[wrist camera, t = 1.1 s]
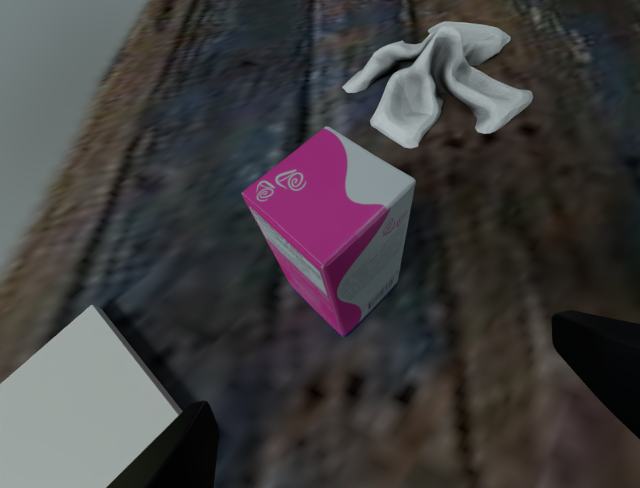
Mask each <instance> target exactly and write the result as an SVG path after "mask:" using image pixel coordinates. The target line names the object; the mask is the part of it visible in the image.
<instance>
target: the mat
mask: <svg viewBox="0 0 640 488" xmlns="http://www.w3.org/2000/svg"><path fill="white" fill-rule="evenodd" d="M182 412H183V411H182V410H181V409H180V407H179V406H178V405H177V404H176V402H175V401H174V400H173V399H172V397H171V396H170V395H169V394H168V392H167V391H166V390H165V388H164V387H163V386H162V385H161V383H160V382H159V381H158V380H157V378H156V377H155V376H154V375H153V373H152V372H151V371H150V370H149V368H148V367H147V366H146V365H145V363H144V362H143V361H142V359H141V358H140V357H139V356H138V354H137V353H136V352H135V351H134V349H133V348H132V347H131V346H130V344H129V343H128V342H127V341H126V339H125V338H124V337H123V336H122V334H121V333H120V332H119V331H118V329H117V328H116V327H115V325H114V324H113V323H112V322H111V320H110V319H109V318H108V317H107V315H106V314H105V313H104V312H103V310H102V309H101V308H98V307H96V306H94V305H91V306H90V307H89V308H88V309H86V310H85V311H84V312H83V313H82V314H81V315H79V316H78V317H77V318H76V319H75V320H74V321H73V322H71V323H70V324H69V325H68V326H67V327H66V328H64V329H63V330H62V331H61V332H60V333H59V334H58V335H56V336H55V337H54V338H53V339H52V340H51V341H49V342H48V343H47V344H46V345H45V346H44V347H43V348H41V349H40V350H39V351H38V352H37V353H36V354H34V355H33V356H32V357H31V358H30V359H29V360H28V361H26V362H25V363H24V364H23V365H22V366H21V367H20V368H18V369H17V370H16V371H15V372H14V373H13V374H11V375H10V376H9V377H8V378H7V379H6V380H5V381H3V382H2V383H1V384H0V488H106V487H107V486H108V485H109V484H110V483H111V482H112V481H113V480H114V479H115V478H116V477H117V476H118V475H119V474H120V473H121V472H122V471H123V470H124V469H125V468H126V467H127V466H128V465H129V464H130V463H131V462H132V461H133V460H134V459H135V458H136V457H137V456H138V455H139V454H140V453H141V452H142V451H143V450H144V449H145V448H146V447H147V446H148V445H149V444H150V443H151V442H152V441H153V440H154V439H155V438H156V437H157V436H158V435H159V434H160V433H161V432H163V431H164V430H165V429H166V428H167V427H168V426H169V425H170V424H171V423H172V422H173V421H174V420H175V419H176V418H177V417H178V416H179V415H180V414H181V413H182Z"/></svg>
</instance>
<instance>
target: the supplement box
mask: <svg viewBox="0 0 640 488" xmlns="http://www.w3.org/2000/svg"><path fill="white" fill-rule="evenodd" d="M415 184H416V181H415V179H414V178H412V177H411V176H409V175H407V174H405V173H404V172H402V171H400V170H398V169H397V168H395V167H393V166H392V165H390V164H388V163H386V162H385V161H383V160H381V159H380V158H378V157H376V156H375V155H373V154H371V153H370V152H368V151H366V150H365V149H363V148H362V147H360V146H358V145H357V144H355V143H354V142H352V141H350V140H349V139H347V138H346V137H344V136H342V135H341V134H339V133H338V132H336V131H334V130H333V129H331V128H330V127H328V126H326V127H325V128H323V129H322V130H321V131H320V132H318V133H317V134H316V135H315V136H313V137H312V138H311V139H309V140H308V141H307V142H306V143H304V144H303V145H302V146H300V147H299V148H298V149H297V150H295V151H294V152H293V153H292V154H290V155H289V156H288V157H287V158H285V159H284V160H283V161H281V162H280V163H279V164H278V165H276V166H275V167H274V168H273V169H271V170H270V171H269V172H267V173H266V174H265V175H264V176H262V177H261V178H260V179H258V180H257V181H256V182H255V183H253V184H252V185H251V186H249V187H248V188H247V189H246V190H244V191H243V192H242V195H243V198H244V200H245V202H246V203H247V205H248V207H249V209H250V211H251V213H252V215H253V217H254V218H255V220H256V222H257V224H258V226H259V227H260V229H261V231H262V233H263V235H264V237H265V239H266V241H267V242H268V244H269V246H270V248H271V249H272V251H273V253H274V255H275V257H276V259H277V261H278V262H279V264H280V266H281V268H282V270H283V272H284V274H285V275H286V277H287V279H288V281H289V283H290V285H291V286H292V287H293V288H294V290H295V291H297V293H298V294H299V295H300V296H301V297H302V298H303V299H304V300H305V301H306V302H307V303H308V304H309V305H310V306H311V307H312V308H313V309H314V310H315V311H316V312H317V313H318V314H319V315H320V316H321V317H322V318H323V319H324V320H325V321H326V322H327V323H328V324H329V325H330V326H331V327H332V328H333V329H334V330H335V331H336V332H337V333H338V334H339V335H340V336H342V337H346V336H347V335H348V334H350V333H351V332H352V331H353V330H354V329H355V328H356V327H357V326H358V325H359V324H360V323H361V322H362V321H363V319H364V318H366V317H367V315H368V314H369V313H370V312H371V311H372V310H373V309H374V308H375V307H376V306H377V305H378V304H379V303H380V302H381V301H382V300H383V299H384V298H385V297H386V296H387V295H388V294H389V293H390V291H391V290H392V289H393V288H394V287H395V286H396V285H397V284H398V277H399V271H400V265H401V260H402V254H403V249H404V243H405V238H406V233H407V227H408V221H409V215H410V210H411V205H412V199H413V194H414V188H415Z"/></svg>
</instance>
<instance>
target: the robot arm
mask: <svg viewBox="0 0 640 488" xmlns="http://www.w3.org/2000/svg"><path fill="white" fill-rule="evenodd" d="M552 341H553V345H554V348H555V349H556V351H557V352H558V354H559V355H560V356H561V357H562V358H563V359H564V360H565V361H566V363H567V364H568V365H569V366H570V367H571V368H572V369H573V371H574V372H575V373H576V374H577V375H578V376H579V377H580V379H581V380H582V381H583V382H584V383H585V384H586V385H587V387H588V388H589V389H590V390H591V391H592V392H593V393H594V394H595V396H596V397H597V398H598V399H599V400H600V401H601V402H602V403H603V404H604V405H605V406H606V407H607V408H608V409H609V410H610V411H611V412H612V413H613V414H614V415H615V416H616V417H617V418H618V419H619V420H620V421H621V422H622V423H623V424H624V425H625V426H626V427H627V428H628V429H629V430H630V431H631V432H633V433H634V434H635V435H636V436H637V437H638V438H639V439H640V324H636V323H631V322H626V321H621V320H616V319H612V318H607V317H602V316H597V315H592V314H587V313H582V312H577V311H572V310H568V311H564V312H560V313H556V314H554V315H553V316H552ZM218 440H219V429H218V425H217V422H216V420H215V417H214V415H213V412H212V410H211V407H210V405H209V403H208V402H207V401H201V402H197V403H193V404H190V405H189V406H188V407H187V408H186V409H185V410H184V411H183V412H182V413H181V414H180V415H179V416H178V417H177V418H176V419H175V420H174V421H173V422H172V423H171V424H170V425H169V426H168V427H167V428H166V429H165V430H164V431H163V432H161V433H160V434H159V435H158V436H157V437H156V438H155V439H154V440H153V441H152V442H151V443H150V444H149V445H148V446H147V447H146V448H145V449H144V450H143V451H142V452H141V453H140V454H139V455H138V456H137V457H136V458H135V459H134V460H133V461H132V462H131V463H130V464H129V465H128V466H127V467H126V468H125V469H124V470H123V471H122V472H121V473H120V474H119V475H118V476H117V477H116V478H115V479H114V480H113V481H112V482H111V483H110V484H109V485H108V486H107V487H106V488H214V479H215V469H216V459H217V449H218Z"/></svg>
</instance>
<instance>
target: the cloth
mask: <svg viewBox="0 0 640 488" xmlns="http://www.w3.org/2000/svg"><path fill="white" fill-rule="evenodd" d="M428 32H429V33H430V35H429V36H428V37H427V38H426V39H425V40H424V41H423V42H422V43H420V44H415V45H413V44H406V43H405V42H403V41H400V42H396V43H393V44H389V45H387V46H384V47H382V48H380V49H379V50H378V51H376V52H375V53H373V56H372V57H371V59H370V60H369V62H368V63H367V65H366V66H365V67H364V69H363V70H362V71H359V72H358V73H357V74H356V75H355V76H353V77H352V78H351V79H350V80H349V81H348V82H347V83H346V84H345V85H344V86H343V87H342V88H344V89H345V90H346V92H348V93H355V92H359V91H362V90H364V89H367V88H368V87H369V86H370V85H371V84H372V83H373V82H374V81H375V80H376V79H377V78H379V77H381V76H383V75H385V74H389V73H391V72H393V71H397V72H395V73H394V74H393V75H392V76H391V78H390V80H389V81H388V83H387V86H386V88H385V91H384V94H383V96H382V99H381V101H380V103H379V106H378V108H377V110H376V112H375V113H374V115H373V117H372V119H371V120H370V122H371V126H373V127H374V128H376V129H377V130H379V131H380V132H382V133H383V134H384V135H386V136H387V137H389V138H390V139H392V140H393V141H395V142H397V143H398V144H400V145H401V146H403V147H405V148H414V147H418V144H419V142H420V141H421V139H422V137H423V136H424V134H425V133H426V132H427V131H428V130H429V129H430V128H431V127H432V126H433V125H434V124H435V122H436V121H437V120H438V118H439V117H440V114H441V108H442V105H443V103H444V101H445V99H443V98H441V97H439V94H440V93H448V94H450V95H452V96H455V97H456V98H457V99H459V100H460V101H462V102H463V103H464V104H466V105H467V106H468V107H469V108H470V110H471V111H472V113H473V114H474V115H475V116H476V117H477V123H476V127H475V129H476V130H477V132H480V133H484V134H486V133H491V132H494V131H496V130H498V129H500V128H502V127H503V126H504V125H505V124H507V123H508V122H509V121H510V120H511V119H512V118H513V117H514V116H516V115H518V114H519V113H520V112H521V111H522V110H523V109H525V108H526V107H527V106H528V105H529V104H530V103H531V102H532V99H533V96H532V92H531V91H528V90H518V89H516V88H513V87H510V86H508V85H506V84H503V83H501V82H499V81H496V80H494V79H492V78H490V77H489V76H487V75H486V74H484V73H482V72H481V71H479V70H477V69H475V68H473V67H471V66H473V65H481V64H483V63H484V62H485V61H487V60H488V59H489V58H491V57H492V56H493V55H496V54H498V53H499V52H500V51H501V49H502V47H503V46H504V45H505V44H506V43H508V42H509V41H510V40H511V37H510V36H509V35H507V34H506V33H504V32H503V31H501V30H500V29H499V28H497V27H492V26H487V25H480V24H471V23H463V22H442V23H439V24H437V25H436V26H434V27H432V28H430V29H429V30H428ZM398 70H399V71H398Z"/></svg>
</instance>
